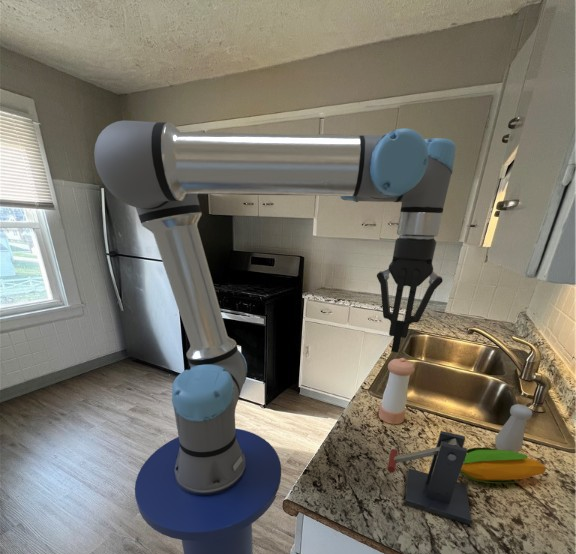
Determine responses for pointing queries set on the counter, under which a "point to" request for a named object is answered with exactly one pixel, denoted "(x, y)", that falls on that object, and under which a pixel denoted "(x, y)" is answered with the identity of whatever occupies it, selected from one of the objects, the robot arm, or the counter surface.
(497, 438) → the salt shaker
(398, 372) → the pepper shaker
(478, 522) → the counter surface
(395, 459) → the lever
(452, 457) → the bracket
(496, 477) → the corn
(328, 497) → the counter surface
